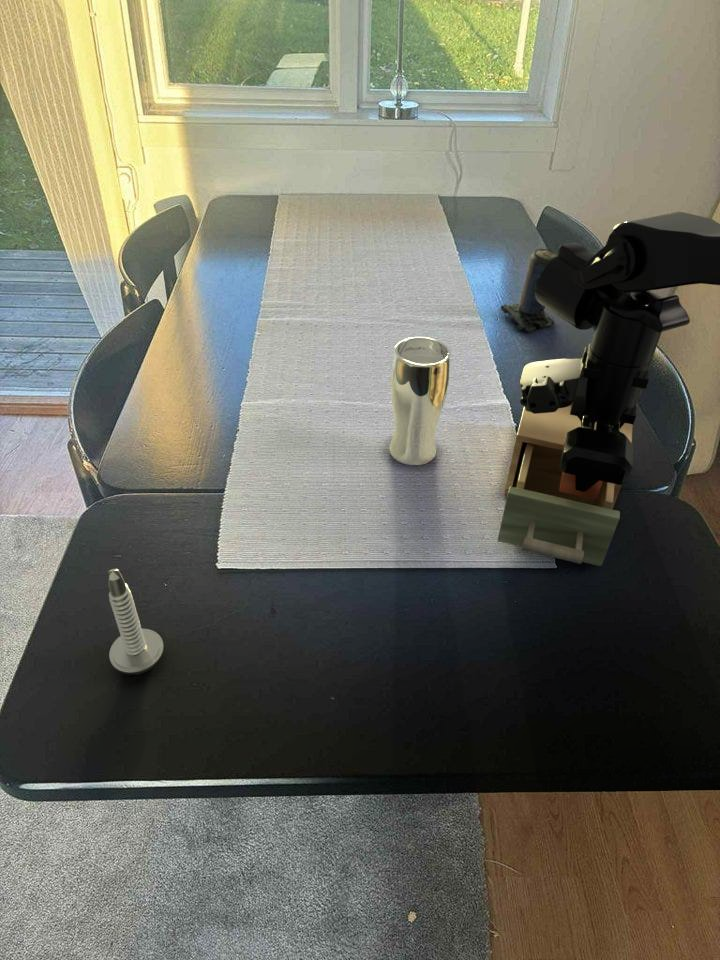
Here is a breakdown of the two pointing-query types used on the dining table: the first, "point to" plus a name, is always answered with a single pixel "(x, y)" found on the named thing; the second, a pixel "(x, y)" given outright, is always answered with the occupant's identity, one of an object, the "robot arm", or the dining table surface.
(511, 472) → the cabinet
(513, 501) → the drawer
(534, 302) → the grey post with base
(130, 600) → the screw
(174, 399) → the dining table surface
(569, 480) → the block
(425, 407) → the beer glass
